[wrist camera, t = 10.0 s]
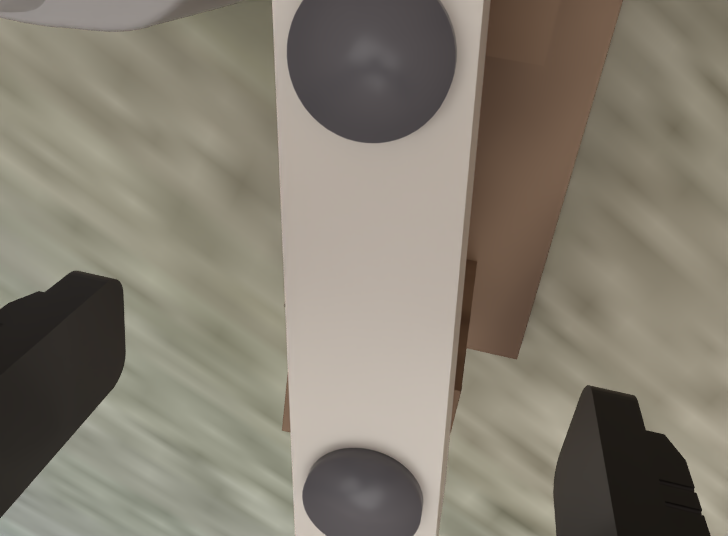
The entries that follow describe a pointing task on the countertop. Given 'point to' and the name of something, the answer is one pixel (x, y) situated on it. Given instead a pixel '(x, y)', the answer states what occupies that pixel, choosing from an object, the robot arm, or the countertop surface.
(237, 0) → the paw print tray
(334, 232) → the frame bar
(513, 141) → the stand
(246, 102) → the countertop surface
